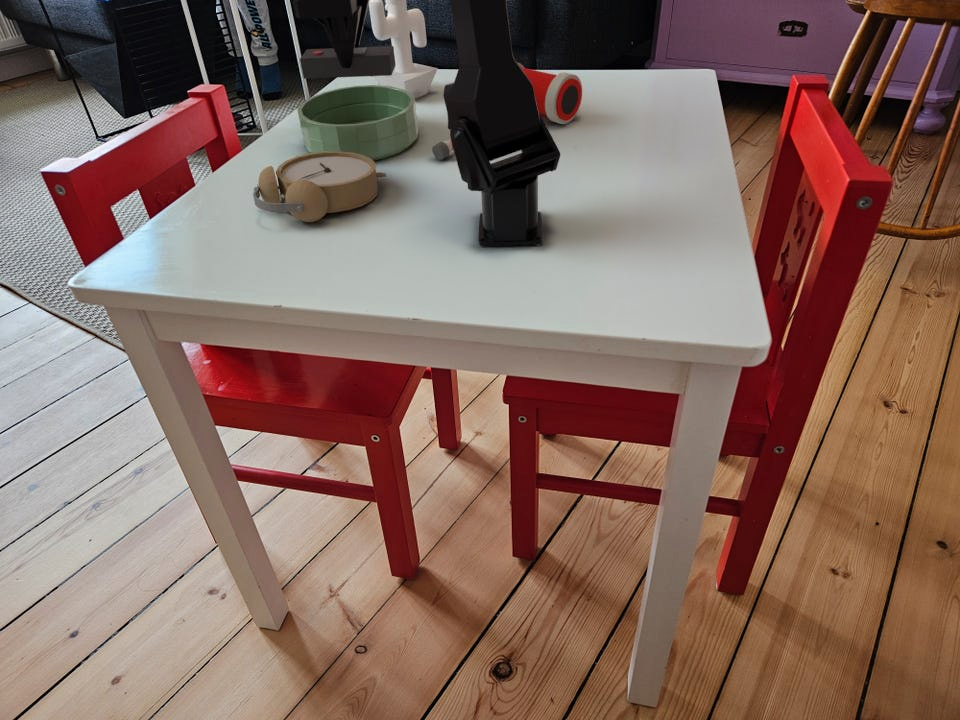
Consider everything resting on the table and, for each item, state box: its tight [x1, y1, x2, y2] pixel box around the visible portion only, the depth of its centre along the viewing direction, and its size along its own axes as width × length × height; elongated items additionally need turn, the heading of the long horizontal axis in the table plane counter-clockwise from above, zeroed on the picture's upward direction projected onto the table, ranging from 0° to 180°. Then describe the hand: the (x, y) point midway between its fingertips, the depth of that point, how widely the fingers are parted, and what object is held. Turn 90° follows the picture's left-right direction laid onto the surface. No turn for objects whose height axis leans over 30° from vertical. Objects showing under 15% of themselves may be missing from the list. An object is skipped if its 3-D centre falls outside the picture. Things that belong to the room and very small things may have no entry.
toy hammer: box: [431, 62, 583, 161], centre depth 93 cm, size 23×12×6 cm, turn 137°
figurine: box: [368, 0, 439, 100], centre depth 104 cm, size 7×9×15 cm
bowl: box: [296, 84, 420, 162], centre depth 93 cm, size 15×15×5 cm
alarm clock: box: [252, 151, 387, 223], centre depth 80 cm, size 11×5×15 cm
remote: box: [299, 45, 396, 80], centre depth 87 cm, size 11×4×2 cm, turn 88°
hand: (349, 62), depth 87 cm, fingers closed on remote, 4 cm apart
